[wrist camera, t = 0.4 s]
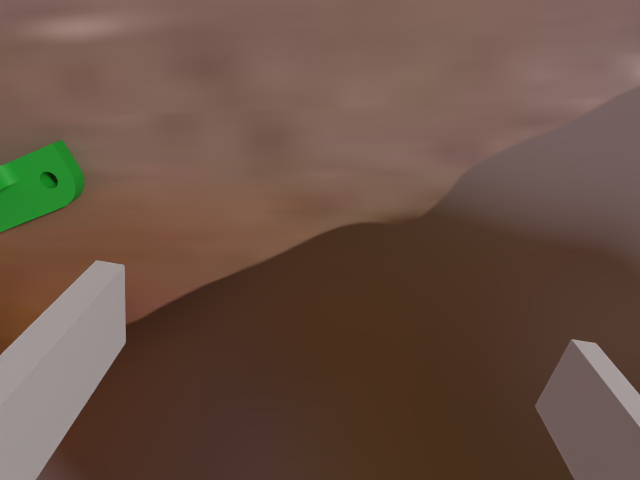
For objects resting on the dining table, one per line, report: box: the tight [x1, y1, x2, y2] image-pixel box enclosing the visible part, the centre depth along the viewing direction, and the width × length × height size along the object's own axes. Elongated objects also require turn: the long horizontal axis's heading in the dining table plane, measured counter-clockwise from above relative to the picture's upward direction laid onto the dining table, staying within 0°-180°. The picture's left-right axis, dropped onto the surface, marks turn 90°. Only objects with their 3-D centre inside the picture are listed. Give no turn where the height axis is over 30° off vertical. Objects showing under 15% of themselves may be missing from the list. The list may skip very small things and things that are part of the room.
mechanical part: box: [0, 140, 84, 232], centre depth 43 cm, size 12×6×8 cm, turn 111°
